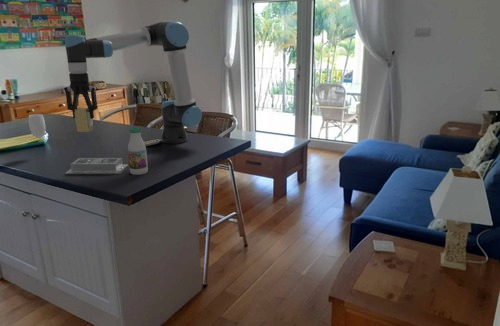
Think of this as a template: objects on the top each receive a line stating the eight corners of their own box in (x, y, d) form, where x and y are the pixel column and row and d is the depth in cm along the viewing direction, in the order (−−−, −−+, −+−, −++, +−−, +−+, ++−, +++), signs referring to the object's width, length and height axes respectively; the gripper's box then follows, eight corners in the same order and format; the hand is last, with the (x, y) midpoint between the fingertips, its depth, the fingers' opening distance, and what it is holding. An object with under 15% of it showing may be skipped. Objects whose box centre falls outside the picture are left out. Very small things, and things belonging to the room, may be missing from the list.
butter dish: (128, 165, 189) (127, 157, 187) (119, 173, 177) (118, 165, 176) (77, 165, 189) (75, 157, 188) (65, 174, 178) (64, 165, 176)
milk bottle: (132, 170, 182) (127, 126, 176) (149, 169, 183) (145, 126, 177) (128, 175, 175) (123, 130, 169) (146, 175, 176) (142, 130, 169)
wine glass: (35, 158, 200) (27, 117, 194) (33, 154, 206) (26, 114, 200) (51, 155, 204) (44, 115, 198) (49, 152, 210) (42, 113, 204)
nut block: (93, 129, 183) (90, 107, 180) (88, 131, 178) (85, 109, 176) (82, 129, 183) (79, 107, 180) (77, 131, 179) (74, 109, 176)
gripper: (102, 72, 177) (107, 124, 184) (61, 71, 177) (68, 123, 184) (95, 73, 170) (101, 127, 176) (53, 73, 170) (60, 127, 177)
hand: (84, 125), depth 180 cm, fingers closed on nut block, 5 cm apart
